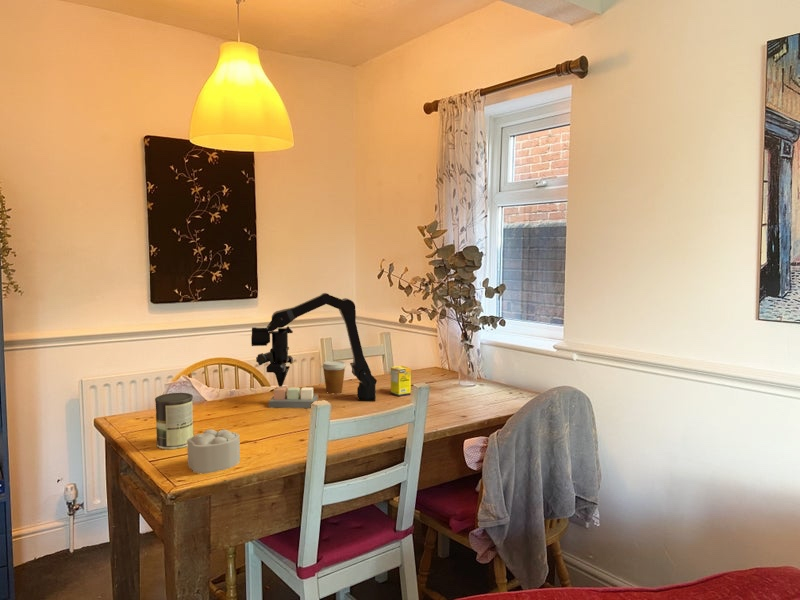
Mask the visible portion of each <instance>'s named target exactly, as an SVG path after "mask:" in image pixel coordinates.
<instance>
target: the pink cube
mask: <svg viewBox="0 0 800 600" xmlns="http://www.w3.org/2000/svg"><path fill="white" fill-rule="evenodd" d="M287 390H288V387H284V386H282V387H279V386H278V387H276V386H275V388H274V389H273V396H274V399H286V398H287Z"/></svg>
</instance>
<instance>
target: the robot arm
mask: <svg viewBox="0 0 800 600" xmlns="http://www.w3.org/2000/svg"><path fill="white" fill-rule="evenodd" d="M325 305H328V306H331V307H333V308H335V309H337V310H338V311H339V314H340V316H341V318H342V319H343V323H344V325H345V328H346V329H345V330H346V331H347V332H346V333H347V336H348V337H347V338H348V341H349V345H350V350H351V354H352V357H353V358H352V359H353V360H352V362H349V365H350V367H351V374H353V376H354V377H355V378H357V380H358V381H359V383H358V386H357V391H356V393H357V394H356V395H357V396H356V397H357V400H358V401H359V402H363V401H366V402H368V401H369V402H375V401H376V399H377V395H376V384H377V381H378V380H377V379H376V378H375V377H374V376H373V374H372V372H371V369H370V367H369V365H368V362H367V360H366V358H365V356H364V353H363V347H362V344H361V340H360V339H361V338H360V335H359V331H358V326H357V322H356V319H357V314H356V310H357V309H356V305H355V302H354V301H353V300H352V299H349V298H342V299H341V298H339V297H337V296H333V295H331V294H329V293H327V292H324V293H321V294H320V295H317V296H315V297H313V298H311V299H309V300H306V301H305V302H302V303H300V304H298V305H295V306H293V307H290V308H289V307H288V308H284V309H280V310H276V311H274V312H273V313H272V315H271V321H270V322H269V323H268V324H267V325H266V327H251V336H250V337H251V338H250V339H251V341H250V342H251V343H250V344H251V347H260V346H261V347H264V346H265V347H267V346H268V344H271V348H270V350H269V351H268V352H265V353H258V354H257V356H256V360H255V361H256V363H257V364H258V366H262V365H264V364H267V363H269V364H268V365H267V366H266V368H265V369H266V373H273V374H274V375H275V378H276V381H277V385H278V387H283V385H284V382H285V380H286V377H287V376H288V372H289V370H290V368H291V366H289V365H287V363H289V364H290V365H292V364H293V363H294V358H293V356H291V355H289V350H290V347H289V345H288V344H289V342H288V341H289V338H288V337H289V336H288V334H293V330H292V329H291V328H290V326H289V324H290V323H292V322H293V321H294V320H296V319H297V318H299V317H301V316H303V315H305V314H307V313H310V312H311V311H315V310H317V309H318V308H320V307H323V306H325ZM285 326H286V327H285Z"/></svg>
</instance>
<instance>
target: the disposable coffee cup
mask: <svg viewBox="0 0 800 600" xmlns="http://www.w3.org/2000/svg"><path fill="white" fill-rule="evenodd" d="M321 367H322V369H323V375H324V384H325V390H326V393H327V392H328V393H327V394H330V393H338V394H341V393H342V392H343V387H344V377H345V369H346V368H347V365H346V362H344V361H343V360H342V361H341V360H328V361H324V362H323V364H322V366H321ZM340 392H341V393H340Z"/></svg>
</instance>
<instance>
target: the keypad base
mask: <svg viewBox="0 0 800 600" xmlns="http://www.w3.org/2000/svg"><path fill="white" fill-rule="evenodd" d="M318 399H319V395H318V394H313V399H312V400H301V394H300V399H299V400H287V398H286V399H274V395H273V396H272V397H271V398H269V401H268V409H269V408H270V409H271V408H272V409H311V408H310V407H311V404H312V403H313V402H314V401H317V400H318ZM318 401H319V400H318ZM318 401H317V402H318Z"/></svg>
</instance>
